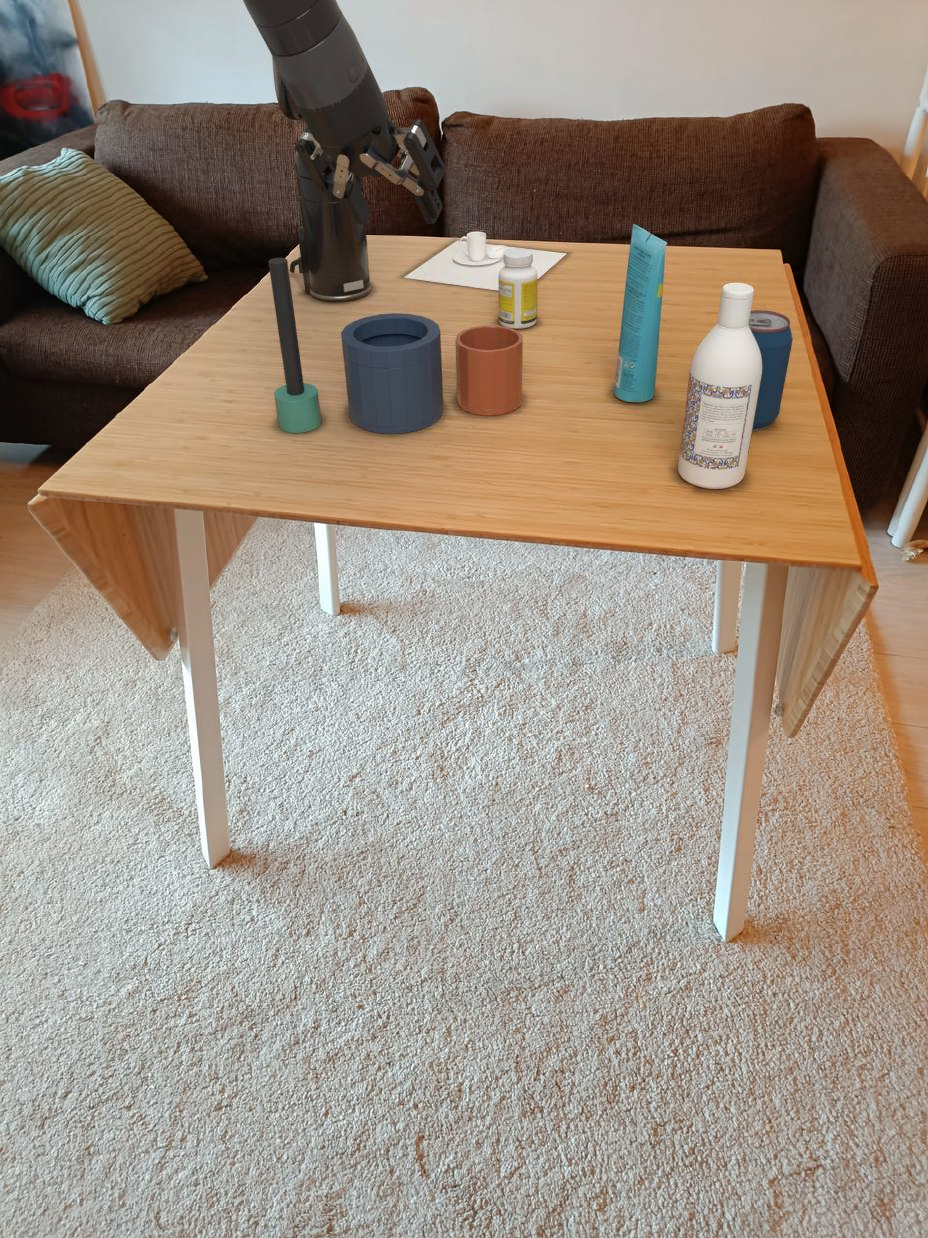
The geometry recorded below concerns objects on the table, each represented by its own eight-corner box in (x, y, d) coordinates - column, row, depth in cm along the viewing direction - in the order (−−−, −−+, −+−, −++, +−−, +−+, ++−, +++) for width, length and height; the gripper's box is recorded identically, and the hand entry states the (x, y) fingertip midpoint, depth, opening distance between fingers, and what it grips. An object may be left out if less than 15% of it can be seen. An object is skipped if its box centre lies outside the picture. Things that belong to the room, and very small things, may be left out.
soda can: (775, 409, 116) (794, 309, 109) (778, 436, 111) (797, 333, 104) (715, 405, 118) (730, 306, 110) (715, 431, 112) (730, 329, 105)
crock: (446, 408, 119) (443, 344, 114) (475, 382, 124) (474, 321, 119) (504, 420, 116) (504, 355, 111) (532, 394, 121) (533, 331, 116)
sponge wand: (270, 427, 116) (244, 264, 104) (295, 410, 119) (273, 250, 107) (305, 436, 114) (282, 270, 102) (329, 418, 117) (310, 256, 106)
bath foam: (697, 452, 109) (723, 269, 96) (755, 471, 105) (789, 284, 93) (664, 477, 105) (686, 289, 92) (723, 498, 101) (754, 306, 89)
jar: (331, 422, 116) (321, 340, 110) (381, 385, 124) (374, 307, 118) (413, 441, 112) (407, 357, 106) (459, 402, 120) (457, 322, 114)
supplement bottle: (537, 315, 141) (539, 245, 135) (535, 330, 137) (537, 258, 131) (499, 315, 142) (499, 245, 136) (497, 329, 138) (497, 258, 132)
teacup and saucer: (513, 255, 162) (513, 230, 160) (494, 270, 157) (494, 244, 154) (465, 249, 165) (464, 224, 163) (444, 264, 160) (443, 238, 157)
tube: (667, 402, 119) (686, 238, 107) (634, 410, 117) (649, 245, 105) (633, 379, 124) (647, 220, 112) (600, 387, 122) (611, 227, 110)
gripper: (410, 40, 87) (472, 190, 100) (282, 54, 93) (356, 193, 106) (378, 100, 84) (445, 245, 97) (249, 110, 91) (328, 245, 104)
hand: (399, 218), depth 102 cm, fingers open, 8 cm apart
